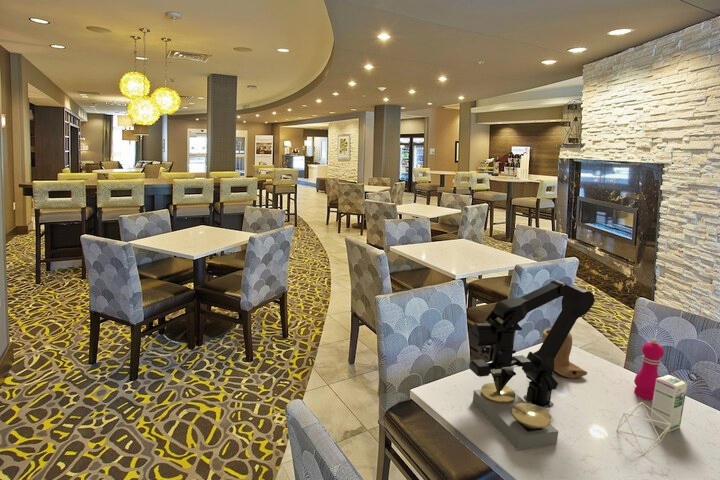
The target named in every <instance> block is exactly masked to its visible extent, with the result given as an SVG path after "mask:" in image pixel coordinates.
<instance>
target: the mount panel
mask: <svg viewBox="0 0 720 480" xmlns="http://www.w3.org/2000/svg"><path fill="white" fill-rule="evenodd" d="M472 403H473V404H474V405H475V406H476V407H477V408H478V410H479V411H480V412H482V413H483V414H484V416H485V417H486V418H487V419H488V420H489V421H490V422H491V423H492V425H494V427H496V429H497V430H498V431H499V432H500V433H501V434H502V435H503V436H504V437H505V438H506V440H507V441H508V442H509V443H510V444H511V445H512V446H513V447H514V448H515V449H516V450H517V451H524V450H531V449H536V448H541V447H542V448H543V447H549V446H550V447H551V446H555V445H557V444H558V438H559V430H558V429H556V428H555V426H553V425H552V424H551V423H550V425H549V426H547V427H544V428H538V430H537V431H530V432H527V431H526V430H525V429H524V428H523V427H522V426H521V423H519V422H518V421H517V420H515V419H514V417H513V416H512V408H513V406H514V405H516V404H518V403H527V402H526V401H525V400H524V399H523V398H522V397H521V396H519V395H518V394H517V393H516V392H515V400H514V401H513V402H511V403H508V404H500V403H495V402H492V401H489V400H487V399H486V398H484V397H483V396H482V394H481V388H480V389H473V396H472Z"/></svg>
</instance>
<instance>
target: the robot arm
mask: <svg viewBox="0 0 720 480" xmlns="http://www.w3.org/2000/svg"><path fill="white" fill-rule="evenodd" d="M561 297H562V299H561V311H560V312H559V314H558V316H557V317H556V319H555V322H554V323H553V325H552V327H551V330H550V332H549V333H548V335H547V337H546V339H545V340H544V342H543V341H542V345H541V346H540V348H538V350H536V351H535V352H532V351H529V352H528V353H527V356H524V355H523V354H521V355H515V354H517V353H516V352H517V351H516V349H515V348H514V344H515V337H516V332H517V331H518V332H519V331H522V330H523V328H522V327H521V326H520V325H519V323H520V322H521V321H523V320H524V319H526V316H527V315H528V313H530V312H531V311H534V310H536V309H539V308H540V307H542V306H544V305H546V304H548V303H550V302H552V301H555V300H556V299H558V298H561ZM595 301H596V299H595V295H594V294H593V292H592V291H589V290H588V289H587V290H586V289H584V288H583V287H580V286H577V285H568V284H567V283H566V282H563V281H561V280H558V279H554V280H551V281H550V282H549V283H548V284H546V285H544V286H541V287H540V288H537V289H534V290H533V291H531V292H528V293H527V294H525V295H522V296H520V297H515V298H513V297H512V298H506V299H504V300H503V299H502V300H499V301H498V302H497V303H495V305H494V308H493V309H492V311H490V313H489V314H488V315H487V317H486V318H485V319H484V321H485V322H483V323H480V322H475V323H474V325H473V327H471V328H470V331H468V332H469V341H470V344H471V346H472V347H474V348H476V351H477V354H478V355H482V357H487V360H489V361H491V362H486V361H485V360H484V359H482V358H481V359H472V360H470V361H469V364H468V368H469V370H470V371H471V372H472V373H473V374H475V375H476V376H477V377H479V378H482V377H489V375H491V376H492V379H493V383H495V387H496V390H497V391H498V392H501V391H502V389H503V388H504V387H505V385H506V386H507V384H508V383H509V381H510V380H511V379H513V377H514V376H517V372H515V370H514V368H521V370H522V371H523V373H524V374H525V377H526V378H527V379H529V380H530V381H529V382H528V386H527V388H526V390H527V391H526V395H525V394H524V396H523V397H524V399H526V401H528V402H529V403H530V404H535V405H538V406H540V407H542V408H544V407H551V406H554V402H552V401H551V399H552V392H553V390H557V388H558V385H559V382H558V381H557V380H556V379H555V377H553V373H554V372H555V371H554V359H555V357H556V355H557V353H558V351H559V350H560V348H561V346H562V344H563V343H564V341H565V339H566V338H567V336H568V334H569V332H570V333H571V332H572V331H571V330H572V329H573V327H574V325H575V323H576V322H577V320H578V319H579V318H581V317H583V316H584V315H586V314H587V313H589V311H590V310H591V308H592V307H593V306H594V304H595ZM497 319H498V320H497ZM513 354H514V355H513Z"/></svg>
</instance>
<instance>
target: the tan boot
mask: <svg viewBox="0 0 720 480" xmlns="http://www.w3.org/2000/svg"><path fill="white" fill-rule="evenodd" d="M551 328H552V327H551ZM551 328H546V329H544V330H543V331H542V334H541V340H542V343H543V342H544V340H545V339H546V337H547V335H548V333H549V332H550V330H551ZM572 348H573V335H572V333H571V331H570V332H569V334H568V336H567V338H566V339H565V341H564V343H563V344H562V346H561V348H560V350H559V351H558V353H557V355H556V357H555V359H554V371H553V372H556V374H559V375H560V376H563V377H567V378H571V379H576V378H581V377H584V376H586V375H588V372H587V371H586V370H585V369H583V368H581V367H580V366H579V365H577V364H574V363H572V362H571V361H570V356H571V353H572V352H571V351H572Z"/></svg>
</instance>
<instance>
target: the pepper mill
mask: <svg viewBox="0 0 720 480" xmlns="http://www.w3.org/2000/svg"><path fill="white" fill-rule="evenodd" d="M658 341H659V340H658V339H657V338H652V339H651V341H649V342H645V343H644V344H643V346H642V347H641V352H642V354H643V355H642V357H641V359H642V361H643V363H642V367H641V369H640V370H639V371H638V373H637V374H635V377H634V384H635V387H634V391H633V393H634V395H635V396H637V397H638V398H639V399H642V400H646V401H653V395H654V389H655V383H656V378H659V374H658V367H659V365H660V364H661V361H662V360H661V358H663V357H664V354H665V350H664V348H663V346H662V345H661V344H659V342H658Z"/></svg>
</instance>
